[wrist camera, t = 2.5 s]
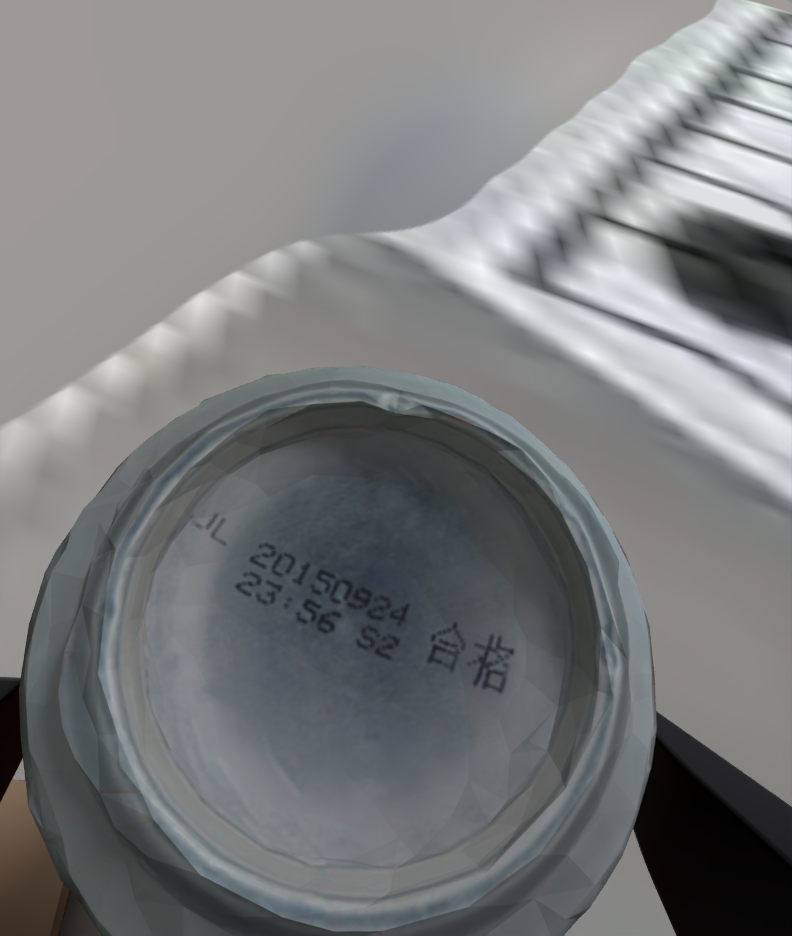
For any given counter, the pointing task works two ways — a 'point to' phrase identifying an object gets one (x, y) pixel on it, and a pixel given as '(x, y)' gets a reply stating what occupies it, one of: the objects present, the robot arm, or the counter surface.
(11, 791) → the lane broken
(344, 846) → the soda can
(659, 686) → the counter surface
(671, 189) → the counter surface
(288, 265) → the counter surface
